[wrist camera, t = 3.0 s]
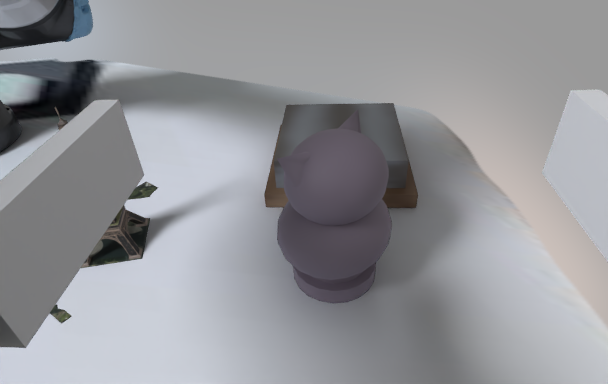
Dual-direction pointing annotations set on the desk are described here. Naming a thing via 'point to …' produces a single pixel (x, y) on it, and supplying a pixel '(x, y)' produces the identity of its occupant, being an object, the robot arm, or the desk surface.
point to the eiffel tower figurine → (117, 237)
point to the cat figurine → (335, 212)
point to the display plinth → (374, 124)
